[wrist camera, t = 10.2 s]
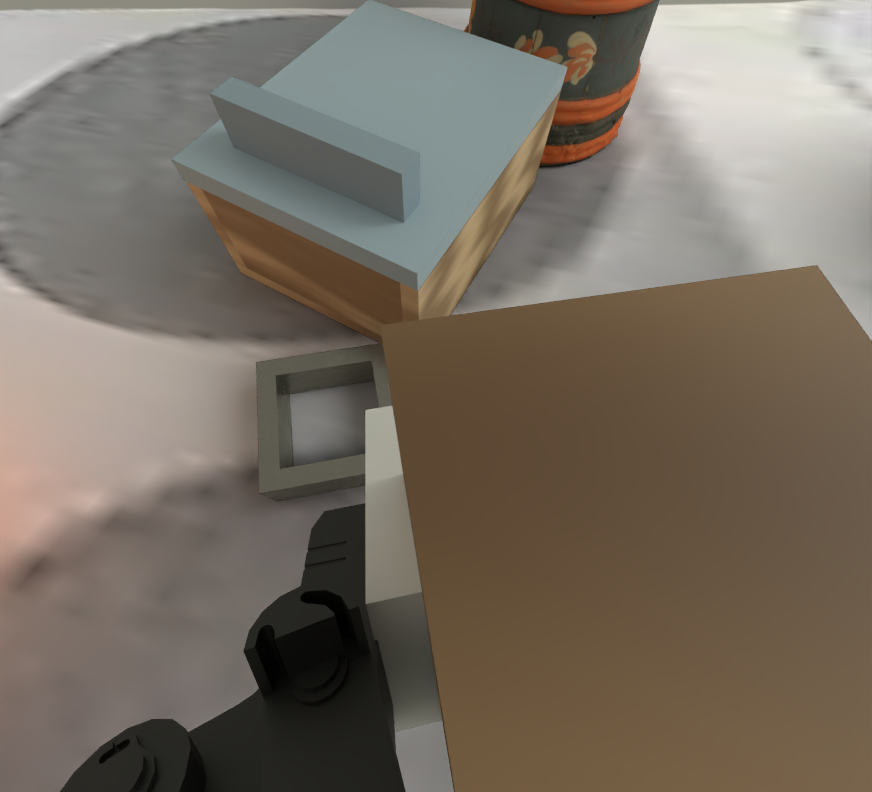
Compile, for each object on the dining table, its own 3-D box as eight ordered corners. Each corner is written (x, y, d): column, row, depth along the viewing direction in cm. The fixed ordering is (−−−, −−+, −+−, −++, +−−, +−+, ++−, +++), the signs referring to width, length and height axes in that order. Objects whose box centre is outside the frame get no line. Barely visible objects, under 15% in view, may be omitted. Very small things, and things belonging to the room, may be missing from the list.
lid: (371, 22, 27) (364, -55, 24) (561, 89, 25) (583, 13, 22) (184, 180, 21) (138, 105, 18) (417, 291, 19) (416, 228, 15)
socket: (271, 381, 24) (256, 362, 22) (390, 363, 25) (387, 342, 23) (276, 501, 22) (259, 493, 19) (409, 476, 22) (408, 465, 20)
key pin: (411, 531, 19) (381, 326, 3) (494, 514, 19) (817, 265, 4) (427, 627, 17) (511, 1134, 2) (516, 607, 18) (1245, 859, 2)
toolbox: (381, 126, 34) (371, 23, 28) (532, 187, 32) (561, 90, 25) (241, 272, 27) (186, 181, 21) (419, 362, 25) (418, 291, 19)
